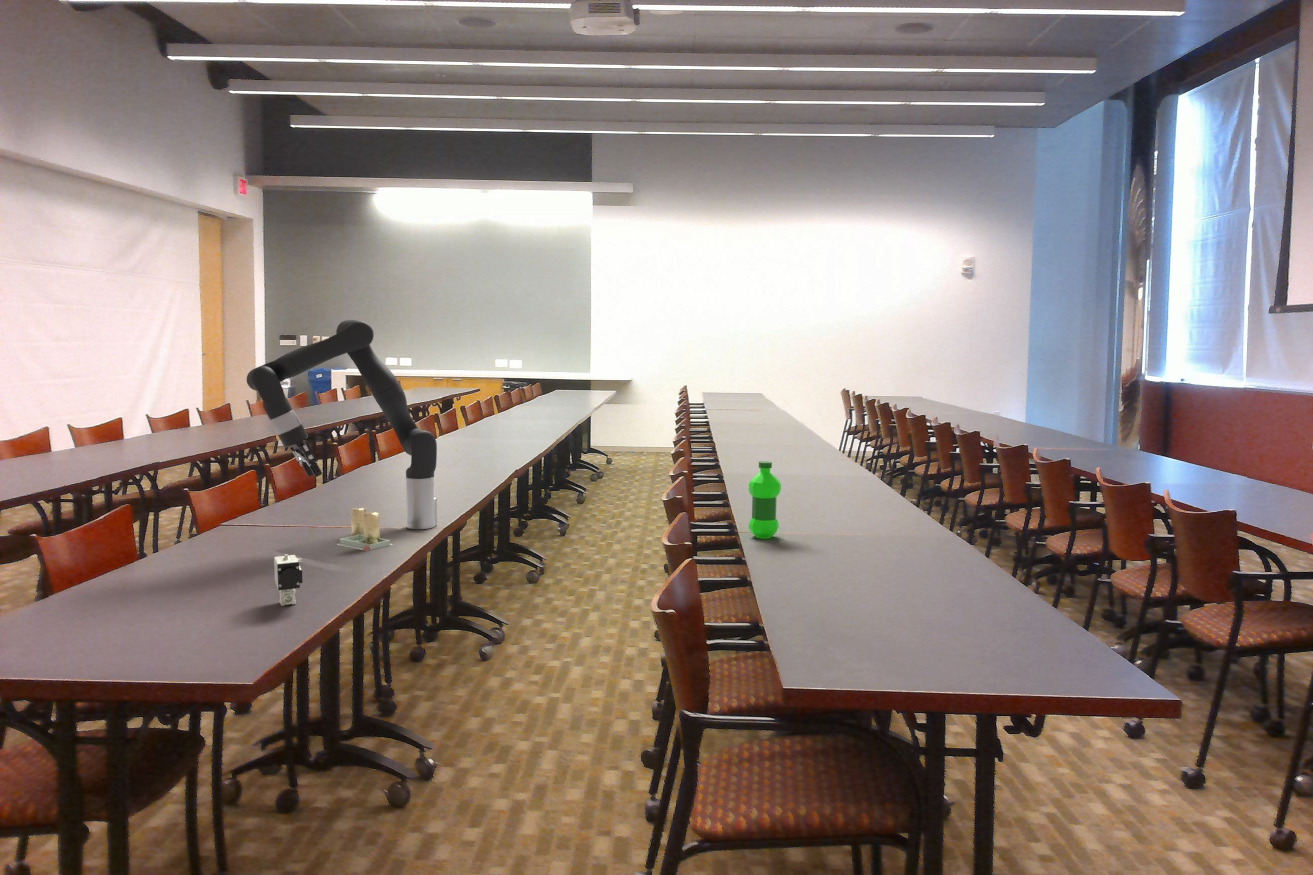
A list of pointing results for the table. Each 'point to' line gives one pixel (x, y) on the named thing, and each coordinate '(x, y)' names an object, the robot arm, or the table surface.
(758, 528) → the plastic bottle
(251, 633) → the table surface
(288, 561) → the pneumatic valve
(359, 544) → the pale green divided tray
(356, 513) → the billet
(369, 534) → the seated billet
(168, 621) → the table surface
